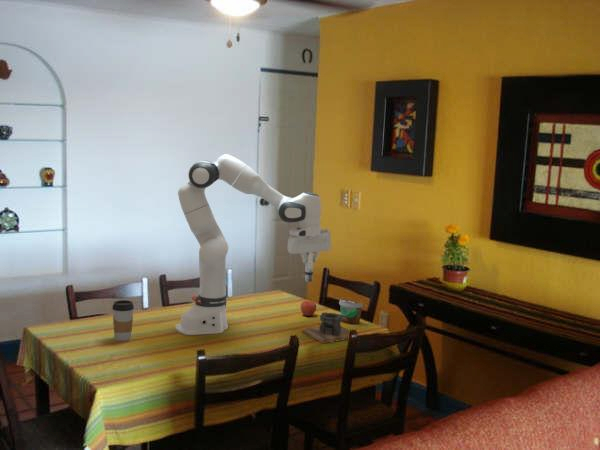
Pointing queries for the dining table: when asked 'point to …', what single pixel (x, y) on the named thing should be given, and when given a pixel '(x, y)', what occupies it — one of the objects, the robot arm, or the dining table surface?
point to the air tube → (309, 267)
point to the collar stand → (328, 329)
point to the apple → (308, 307)
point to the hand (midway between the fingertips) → (309, 262)
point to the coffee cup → (122, 319)
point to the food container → (350, 311)
